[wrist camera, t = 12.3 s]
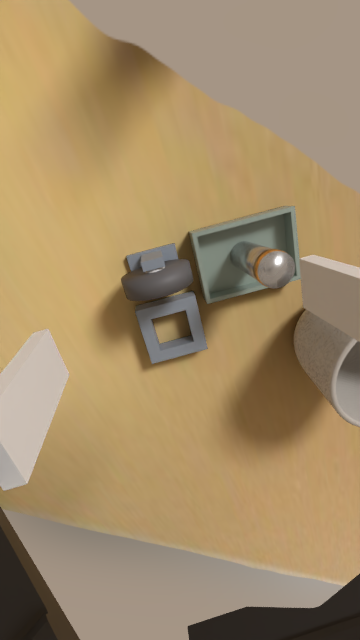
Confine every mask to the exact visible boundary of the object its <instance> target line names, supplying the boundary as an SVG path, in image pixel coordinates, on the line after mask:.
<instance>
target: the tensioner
mask: <svg viewBox="0 0 360 640" xmlns="http://www.w3.org/2000/svg"><path fill="white" fill-rule="evenodd" d="M126 257H127V260H128V263H129V267H130V270H131V272H129V273H128V274H126V275H124V276H123V277H122V278H121V282H122V285H123V288H124V291H125V294H126V297H127V299H129V300H132V301H145V300H152V299H157V298H161V297H164V296H168V295H171V294H173V293H176V292H178V291H181V290H183V289H184V288H186V287H188V286H189V285H190V284H191V283H192V282H193V275H192V271H191V267H190V263H189V260H186V259H178V256H177V252H176V248H175V244H174V243H172V244H169V245H165V246H161V247H157V248H154V249H150V250H146V251H142V252H139V253H135V254H131V255H127V256H126ZM184 310H185V311H186V315H187V318H188V322H189V326H190V330H191V334H192V335H191V336H187V337H183V338H179V339H176V340H172V341H168V342H165V343H161V344H159V341H158V337H157V334H156V331H155V327H154V324H153V321H152V319H154V318H158V317H162V316H165V315H169V314H173V313H176V312H180V311H184ZM135 313H136V316H137V319H138V322H139V325H140V328H141V331H142V334H143V337H144V341H145V344H146V347H147V350H148V353H149V356H150V359H151V362H152V364H153V363H157V362H161V361H165V360H168V359H172V358H176V357H179V356H183V355H187V354H190V353H194V352H198V351H201V350H205V349H208V348H207V344H206V339H205V335H204V331H203V327H202V322H201V318H200V314H199V310H198V306H197V301H196V297H195V294H194V292H193V291H190V292H186V293H183V294H179V295H175V296H171V297H168V298H164V299H160V300H156V301H153V302H149V303H145V304H142V305H138V306H136V307H135Z"/></svg>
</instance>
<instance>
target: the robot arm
mask: <svg viewBox="0 0 360 640" xmlns="http://www.w3.org/2000/svg"><path fill="white" fill-rule="evenodd" d="M299 262H300V274H301V286H302V298H303V308H305V309H306V310H308V311H310V312H311V313H313V314H315V315H316V316H318V317H320V318H321V319H323V320H324V321H326V322H328V323H329V324H331V325H333V326H334V327H336V328H338V329H339V330H341V331H343V332H344V333H346V334H347V335H349V336H351V337H352V338H354V339H356V340H357V341H359V342H360V268H359V267H355V266H352V265H348V264H345V263H341V262H338V261H334V260H330V259H327V258H323V257H320V256H316V255H311V256H307V257H303V258H300V259H299ZM68 377H69V372H68V370H67V368H66V366H65V364H64V362H63V360H62V357H61V355H60V353H59V351H58V349H57V347H56V344H55V342H54V340H53V338H52V336H51V334H50V331H49V329H45V330H42V331H38V332H34V333H32V335H31V336H30V337H29V339H28V340H27V341H26V342H25V344H24V345H23V346H22V347H21V349H20V350H19V351H18V352H17V354H16V355H15V356H14V357H13V359H12V360H11V361H10V362H9V364H8V365H7V366H6V367H5V369H4V370H3V371H2V373H1V374H0V486H1V488H2V489H3V490H4V491H5V490H9V489H12V488H15V487H19V486H22V485H25V484H27V483H28V481H29V478H30V476H31V473H32V470H33V468H34V465H35V463H36V460H37V457H38V455H39V452H40V450H41V447H42V444H43V442H44V439H45V437H46V434H47V431H48V429H49V426H50V424H51V421H52V418H53V416H54V413H55V411H56V408H57V405H58V403H59V400H60V398H61V395H62V392H63V390H64V387H65V385H66V382H67V379H68ZM188 634H189V640H360V574H359V575H358V576H356V577H355V578H354V579H353V580H351V581H350V582H349V583H348V584H347V585H345V586H344V587H343V588H342V589H341V590H339V591H338V592H337V593H336V594H335V595H333V596H332V597H331V598H330V599H329V600H327V601H326V602H325V603H324V604H322V605H321V606H319V607H316V608H275V607H245V608H242V609H239V610H236V611H233V612H229V613H226V614H223V615H220V616H217V617H214V618H211V619H208V620H205V621H202V622H199V623H196V624H193V625H190V626H188ZM0 640H80V639H79V637H78V636H77V634H76V632H75V631H74V629H73V627H72V626H71V624H70V622H69V621H68V619H67V617H66V616H65V614H64V612H63V611H62V609H61V607H60V606H59V604H58V602H57V601H56V599H55V598H54V596H53V594H52V592H51V591H50V589H49V587H48V586H47V584H46V582H45V580H44V579H43V577H42V575H41V574H40V572H39V571H38V569H37V567H36V565H35V564H34V562H33V560H32V559H31V557H30V556H29V554H28V552H27V551H26V549H25V547H24V546H23V544H22V542H21V540H20V539H19V537H18V535H17V534H16V532H15V530H14V529H13V527H12V526H11V524H10V522H9V521H8V519H7V517H6V515H5V514H4V512H3V510H2V509H1V507H0Z"/></svg>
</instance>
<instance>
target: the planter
mask: <svg viewBox="0 0 360 640" xmlns="http://www.w3.org/2000/svg"><path fill="white" fill-rule="evenodd" d="M294 348H295V353H296V356H297V358H298V361H299V363H300V365H301V366H302V368H303V369H304V371H305V372H306V373H307V375H308V376H309V377H310V378H311V380H312V381H313V382H314V384H315V385H316V386H317V387H318V389H319V390H320V391H321V393H322V394H323V395H324V396H325V398H326V399H327V400H328V401H329V403H330V404H331V405H332V407H333V408H334V409H335V410H336V412H337V413H338V414H339V415H340V416H341V417H342V418H343V419H344V420H346V421H347V422H348V423H350V424H352V425H355V426H357V427H360V342H359V341H357V340H356V339H354V338H352V337H351V336H349V335H347V334H346V333H344V332H343V331H341V330H339V329H338V328H336V327H334V326H333V325H331V324H329V323H328V322H326V321H324V320H323V319H321V318H320V317H318V316H316V315H315V314H313V313H311V312H310V311H308V310H305V311H304V312H303V314H302V315H301V317H300V318H299V320H298V322H297V325H296V328H295V332H294Z"/></svg>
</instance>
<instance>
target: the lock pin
mask: <svg viewBox="0 0 360 640" xmlns="http://www.w3.org/2000/svg"><path fill="white" fill-rule="evenodd" d="M230 259H231V262H232V263H233V265H234V266H236V267H237V268H239V269H240V270H242V271H243V272H245V273H247V274H248V275H250V276H251V277H253V278H255V279H256V280H257V281H258V282H259V283H261V284H262V285H264V286H266V287H269V288H280V287H283V286H285V285H286V284H288V283H289V282H290V280H291V279H292V278H293V275H294V273H295V263H294V260H293V258H292V257H291V256H290V255H289V254H288V253H286V252H284V251H281V250H278V249H272V248H268V247H265V246H262V245H258V244H255V243H252V242H249V241H241V242H238V243H237V244H236V245H235V246H234V247H233V248H232V250H231V253H230Z"/></svg>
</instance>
